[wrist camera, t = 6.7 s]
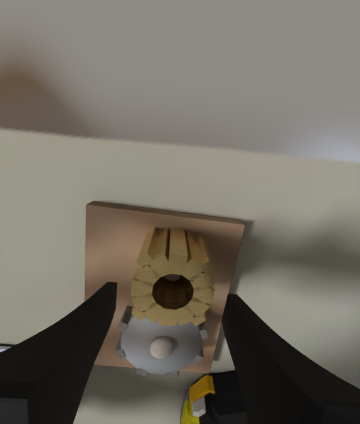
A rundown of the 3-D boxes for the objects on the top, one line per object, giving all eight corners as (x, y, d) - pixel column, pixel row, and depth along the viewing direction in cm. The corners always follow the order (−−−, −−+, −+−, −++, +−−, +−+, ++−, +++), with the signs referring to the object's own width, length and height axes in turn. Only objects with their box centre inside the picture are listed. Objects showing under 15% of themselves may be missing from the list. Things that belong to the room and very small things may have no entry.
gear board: (207, 360, 23) (213, 401, 19) (89, 350, 22) (71, 391, 18) (239, 219, 19) (257, 235, 15) (93, 201, 18) (69, 212, 14)
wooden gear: (197, 285, 19) (206, 329, 14) (140, 279, 18) (128, 321, 13) (208, 232, 17) (221, 260, 12) (146, 224, 17) (134, 249, 12)
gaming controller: (288, 412, 26) (288, 357, 24) (317, 476, 21) (321, 414, 18) (181, 427, 26) (168, 375, 24) (182, 494, 21) (167, 436, 19)
